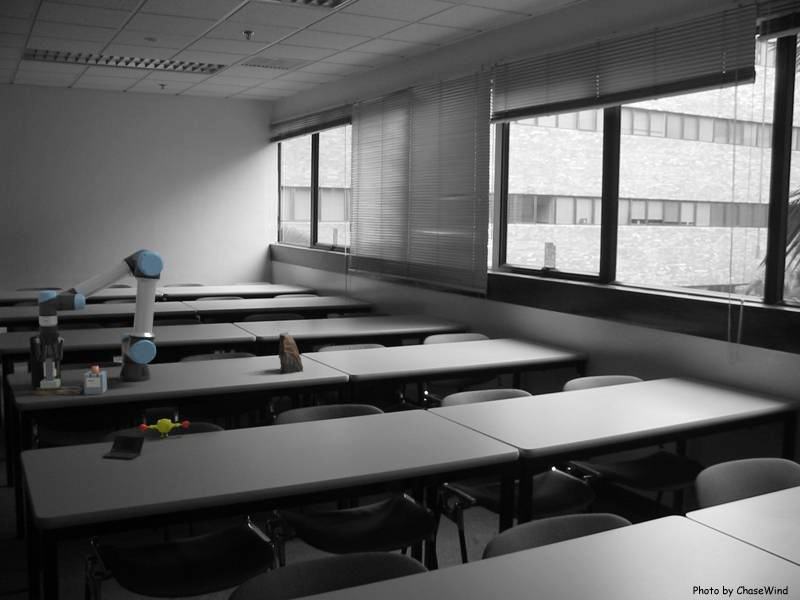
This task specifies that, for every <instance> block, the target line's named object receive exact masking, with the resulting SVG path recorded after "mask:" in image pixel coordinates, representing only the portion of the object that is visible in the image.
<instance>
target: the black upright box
mask: <svg viewBox="0 0 800 600" xmlns="http://www.w3.org/2000/svg"><path fill="white" fill-rule="evenodd" d="M39 336H40V333H39V334H37V335H34V336H31V337H30V338H29V349H30V350H29V351H30V354H29V355H30V356H29V357H30V373H31V379H30V380H31V389H36V390H37V387H41V385H40V382H41V381H42V380H44V379H46V377H44V369H42V363H41V361H37V357H36V350H35V344H34V342H33V340H34V339H37V338H39ZM58 336H59V337H60V333H59V332H58ZM55 344H56V350H57V355H58V353H59V340H57V342H56V343H55ZM39 345H40V352H41V357H42V350H43V343H42V342H41V341H40V342H39ZM46 358H53V353H52V348H51V345H48V346H47V352H46ZM61 370H62V369H61V360H60V361H58V368H57V369H56V376H55V379H60V380H61V381H62V373H61V372H62V371H61Z"/></svg>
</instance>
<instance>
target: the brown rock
mask: <svg viewBox="0 0 800 600" xmlns="http://www.w3.org/2000/svg"><path fill="white" fill-rule="evenodd" d="M278 336H279V339H278V341H279V346H278V352H279V353H278V358H279V360H280V361H279V362H280V373H281V374H284V375H287V374H294V373H300V372H302V373H303V372H304V366H303V362H302V358H301V355H300V353H299V349H298V346H297V344H296V342H295V340H294V338H293V336H291V335H290V333H288V331H286V332H281V333H280V334H279V335H278Z"/></svg>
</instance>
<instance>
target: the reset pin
mask: <svg viewBox="0 0 800 600" xmlns="http://www.w3.org/2000/svg"><path fill="white" fill-rule="evenodd" d="M91 371H92V374H97V378H98V374H99V371H100V367H99V365H94V366H91Z"/></svg>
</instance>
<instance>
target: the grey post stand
mask: <svg viewBox="0 0 800 600" xmlns="http://www.w3.org/2000/svg"><path fill="white" fill-rule="evenodd" d="M52 362H54V358H46V359H45V367H46V379H44V380H42V381H41V382H40V385H41V388H57V387H61V385H62V384H61V383H62V379H61V380H60V379H55V376H53V365H52Z"/></svg>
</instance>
